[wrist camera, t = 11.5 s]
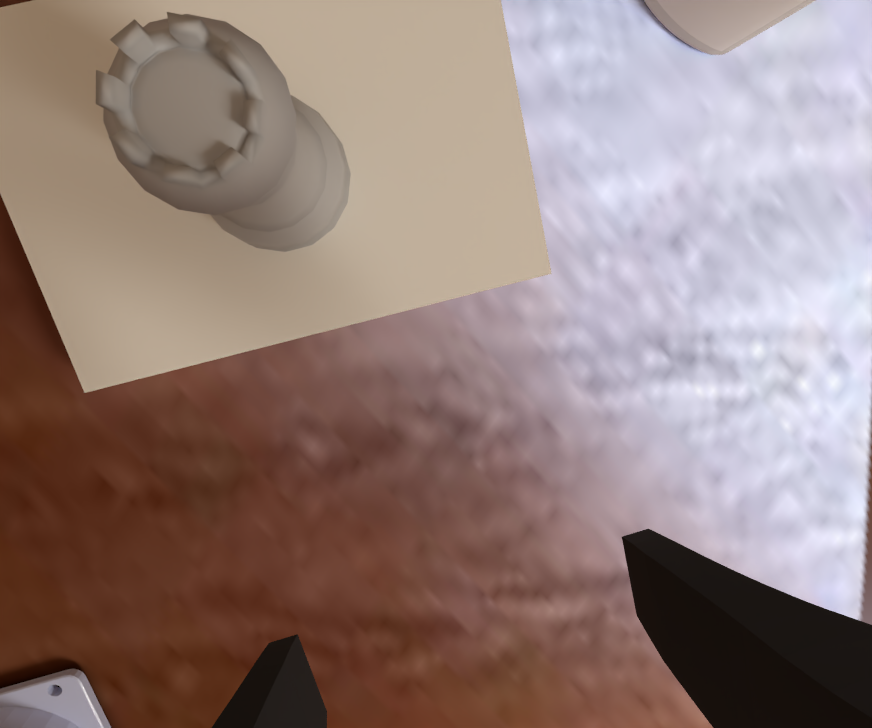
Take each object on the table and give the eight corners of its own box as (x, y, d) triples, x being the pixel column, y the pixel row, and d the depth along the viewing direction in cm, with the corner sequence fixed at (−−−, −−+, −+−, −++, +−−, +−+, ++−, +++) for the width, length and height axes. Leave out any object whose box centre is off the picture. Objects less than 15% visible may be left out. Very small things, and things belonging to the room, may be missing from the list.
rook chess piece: (252, 276, 16) (133, 293, 8) (175, 141, 15) (-40, 17, 7) (376, 214, 16) (373, 175, 8) (308, 75, 15) (233, -117, 7)
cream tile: (108, 381, 18) (84, 393, 16) (-30, 45, 15) (-72, 23, 14) (538, 272, 19) (551, 273, 17) (473, -64, 16) (482, -96, 15)
